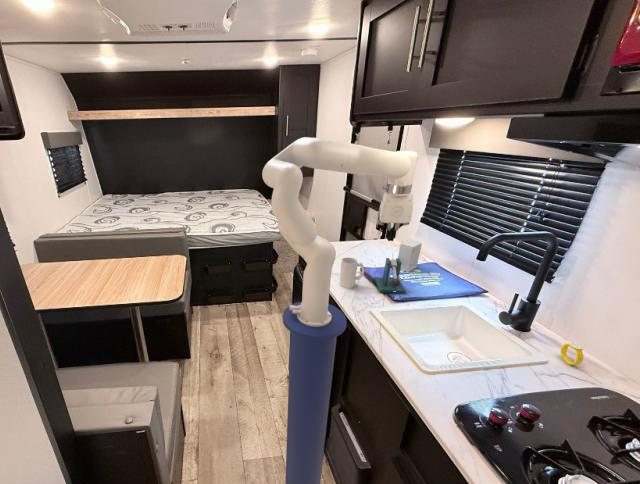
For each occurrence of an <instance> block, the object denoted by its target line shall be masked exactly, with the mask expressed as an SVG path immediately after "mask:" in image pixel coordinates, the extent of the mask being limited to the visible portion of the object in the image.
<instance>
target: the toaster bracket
mask: <svg viewBox="0 0 640 484" xmlns="http://www.w3.org/2000/svg"><path fill="white" fill-rule="evenodd" d="M390 260H391V259H390V258H389V257H386V258H385V262H384V269H383V273H382V274H383V275H382V276H374V278H373V280H374V282H375V285H376V288H377V289H378V292H379V293H380V294H394V295H395V294H396V295H406V289H405V288H404V285H403V284H402V282H401V281H400V285H399V286H394V285H392V280H393V279H394V278H393V277H390V272H391V271H390V270H391V268H390V266H391V261H390ZM395 260H396V262H397V266H396V274H397V279H399V277H400V272H401V270H400V268H401V263H402V262H401V261H400V259H399V258H398V257H396V258H395ZM393 291H396V292H393Z"/></svg>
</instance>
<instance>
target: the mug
mask: <svg viewBox="0 0 640 484" xmlns="http://www.w3.org/2000/svg"><path fill="white" fill-rule="evenodd" d="M358 262H359V260H358V259H357V258H355V257H349V256H348V257H342V258H341V263H340V273H339V274H340V275H339V286H341V287H342V288H345V289H352V288H354V287H355V282H356V281H358V280H359V281H360V280H361V279H362V278H363V275H364V274H365V266H364V262H359V263H358ZM358 268H361V272H360V274H359V275H357V270H358Z"/></svg>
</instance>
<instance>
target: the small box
mask: <svg viewBox="0 0 640 484" xmlns="http://www.w3.org/2000/svg"><path fill="white" fill-rule="evenodd" d="M422 244H423V242H420V241H416V240H412V239H408V240H405V241H403V242H400V244H399V249H398V255H397V258H399V259H400V261H401V262H402V263H401V268H400V271H403V272H406V273H409V272H411V271H413V270H414V269H416V268H417V267H418V263H419V259H420V255H421V254H420V253H421V249H422V246H423V245H422Z"/></svg>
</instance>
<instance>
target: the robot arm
mask: <svg viewBox="0 0 640 484" xmlns="http://www.w3.org/2000/svg"><path fill="white" fill-rule="evenodd" d="M418 157H419V156H418V152H416V151H415V150H397V151H392V150H385V149H380V148H374V147H369V146H366V145H361V144H355V143H350V142H345V141H344V142H343V141H339V140H332V139H326V138H323V137H309V136H304V137H299V138H298V139H296V140H295V141H293V142H292V143H291V144H289V145H288V146H287V147H285V148H284V149H283V150H281V151H280V152H278V153H277V154H276V155H274V156H273V157H272V158H271V159H270V160H268V161H267V162H266V164H265V165H264V167H263V169H262V173H261V175H262V176H261V177H262V180H263V182H264V184H265V185H266V186H268V187H269V188H271V189H273V190H272V194H271V201H270V202H271V203H270V206H271V210H272V213H273V215H274V216H275V218H276V219H277V229H278V231H279V233H280V234H281V236H282V237H283V239H284V240H285V241H286V242H287V243H288V245H289V246H290V247H291V248H292V249H293V251H294V252H295V253H296V254H298V255H299V256H300V257H301V258H302V259H304V260H305V261H306V266H305V268H304V271H303V274H302V294H301V295H302V296H301V299H302V300H301V302H302V303H301V305H298V306H294V305H292V304H290V305H289V306H290V310H293V313H295V314H296V313H297V317H298V320H299V321H300V322H302V323H303V324H305V325H308V326H312V327H321V326H325V325H327V324H329V323H330V322H331V317H332V316H331V314H330V312H329V311H328V304H329V300H330V291H331V290H330V289H331V279H332V271H333V267H334V264H335V261H336V257H337V252H336V248H335V247H334V245H333V243H332V242H330V241H329V240H327V239H326V238H324V237H323V236H320V235H318V228H317V224H316V223H315V222H314V220H313V219H312V217H311V216H310V214H309V213H307V211H306V209H305V208H304V207H303V205H302V203H301V202H300V199H299V195H300V191H301V188H302V185H303V182H304V181H303V180H304V177H303V176H304V175H303V172H302V170H301V169H302V167H306V168H310V169H314V170H315V169H316V170H322V171H330V172H337V173H344V174H349V175H350V174H351V175H362V176H363V175H364V176H373V177H379V178H386V179H387V178H388V180H387V183H386V185H383V186H382V190H383V191H385V192H384V193H383V195H382V198H381V201H380V204H379V208H378V214H377V215H378V216H377V220H376V224H377V225H379V226H383V227H384V228H385V229H386V231H385V239H386V240H387V241H388V242H394V239H396V237H397V236H396V235H397V231H399V229H400V228H401V227H403V226H409V225H410V222H411V221H412V216H413V208H414V194H413V193H412V189H413V183H414V177H415V174H416V173H415V172H416V167H417V162H418Z"/></svg>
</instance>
